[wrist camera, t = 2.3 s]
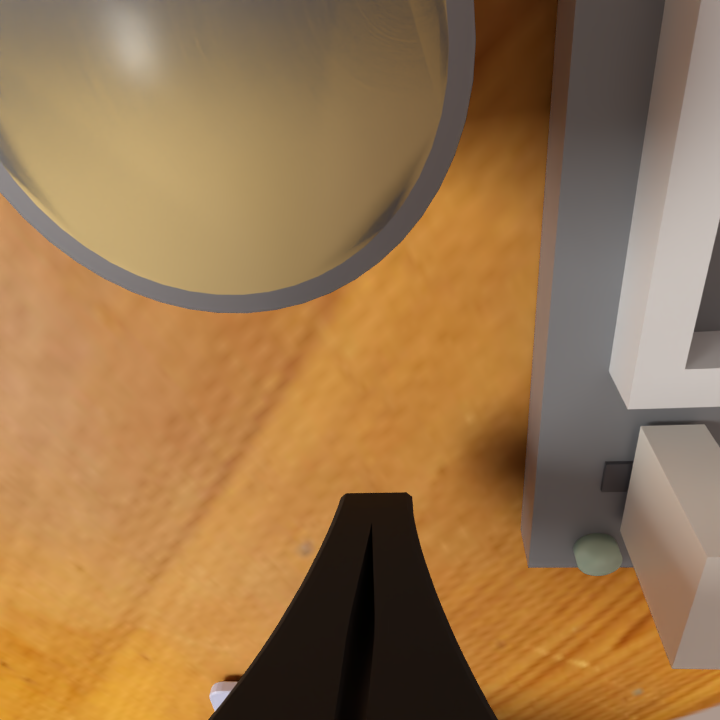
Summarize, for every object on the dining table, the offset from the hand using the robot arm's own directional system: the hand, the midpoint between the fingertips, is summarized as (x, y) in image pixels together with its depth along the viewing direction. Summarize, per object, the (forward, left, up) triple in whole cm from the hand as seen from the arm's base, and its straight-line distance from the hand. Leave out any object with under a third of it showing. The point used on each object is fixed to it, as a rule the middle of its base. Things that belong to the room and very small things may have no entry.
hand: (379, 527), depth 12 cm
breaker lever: (0, -6, -1) cm, 6 cm away
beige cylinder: (+9, +1, -3) cm, 9 cm away
